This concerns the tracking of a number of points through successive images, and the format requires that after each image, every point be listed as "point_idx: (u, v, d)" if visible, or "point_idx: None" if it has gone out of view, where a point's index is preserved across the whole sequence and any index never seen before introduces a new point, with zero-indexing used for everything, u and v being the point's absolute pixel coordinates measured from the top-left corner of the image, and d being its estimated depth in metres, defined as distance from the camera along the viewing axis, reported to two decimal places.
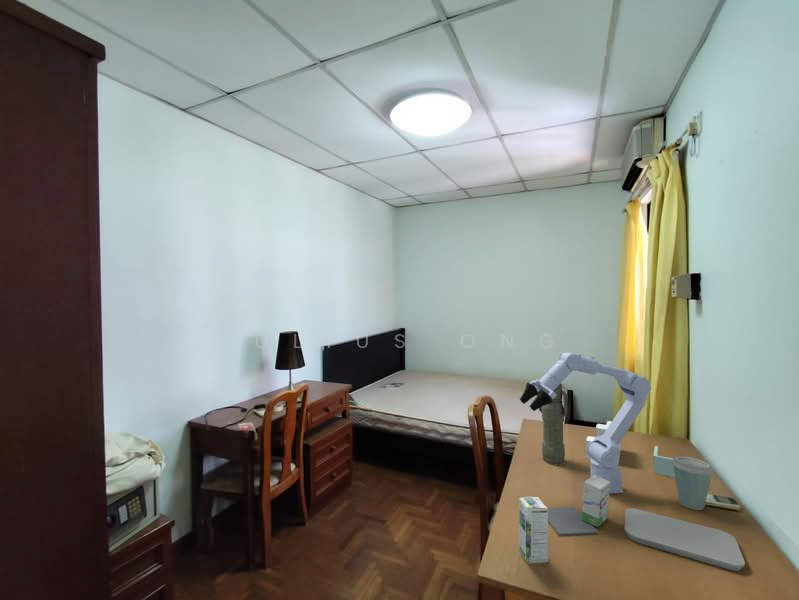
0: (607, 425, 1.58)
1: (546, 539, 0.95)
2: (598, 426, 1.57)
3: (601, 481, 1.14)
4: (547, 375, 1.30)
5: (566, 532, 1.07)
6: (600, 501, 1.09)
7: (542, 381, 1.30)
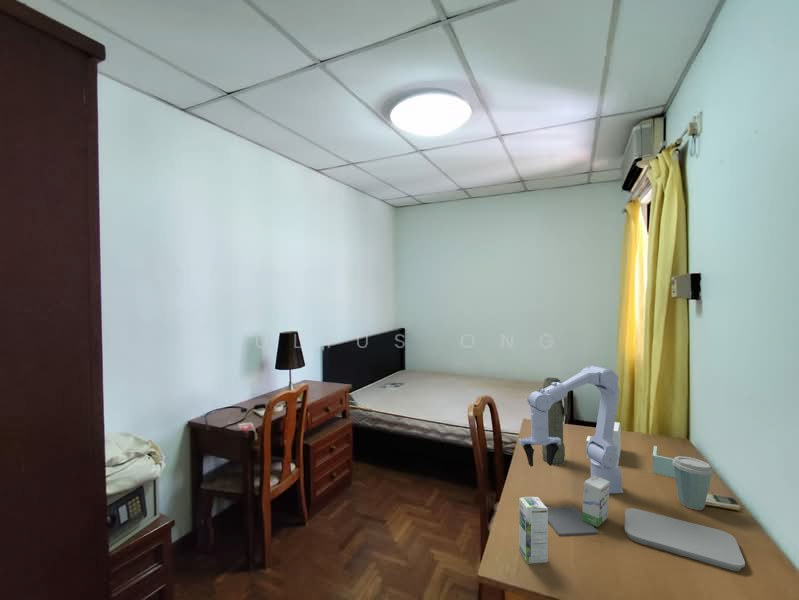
0: None
1: (546, 539, 0.95)
2: None
3: (601, 481, 1.14)
4: (545, 431, 1.26)
5: (566, 532, 1.07)
6: (600, 501, 1.09)
7: (545, 439, 1.26)
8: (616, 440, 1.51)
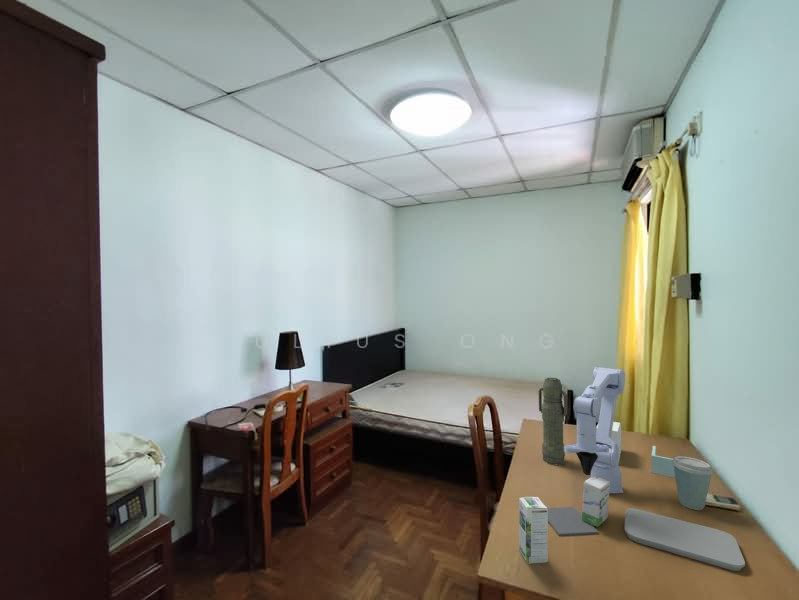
0: None
1: (546, 539, 0.95)
2: None
3: (601, 481, 1.14)
4: (593, 438, 1.19)
5: (566, 532, 1.07)
6: (600, 501, 1.09)
7: (593, 447, 1.20)
8: (616, 440, 1.51)
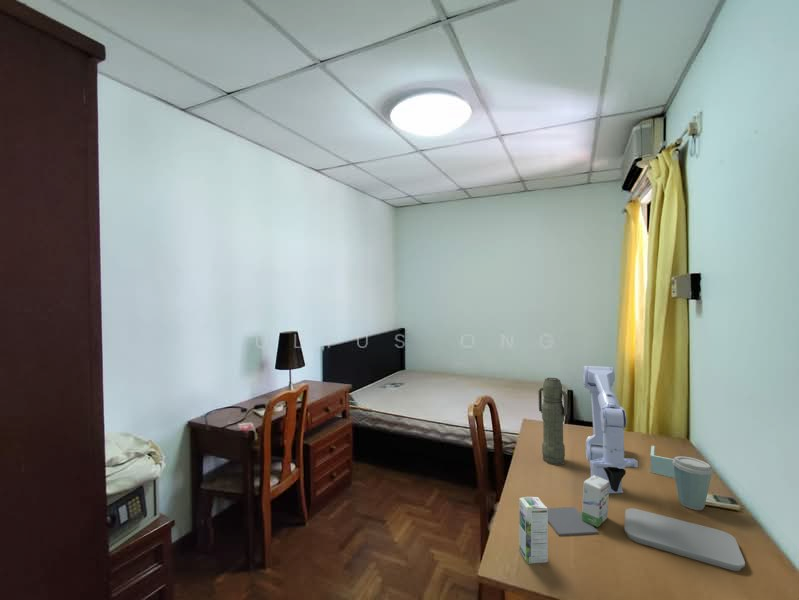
0: None
1: (546, 539, 0.95)
2: None
3: (600, 481, 1.14)
4: (621, 452, 1.11)
5: (566, 532, 1.07)
6: (600, 501, 1.09)
7: (622, 462, 1.12)
8: None
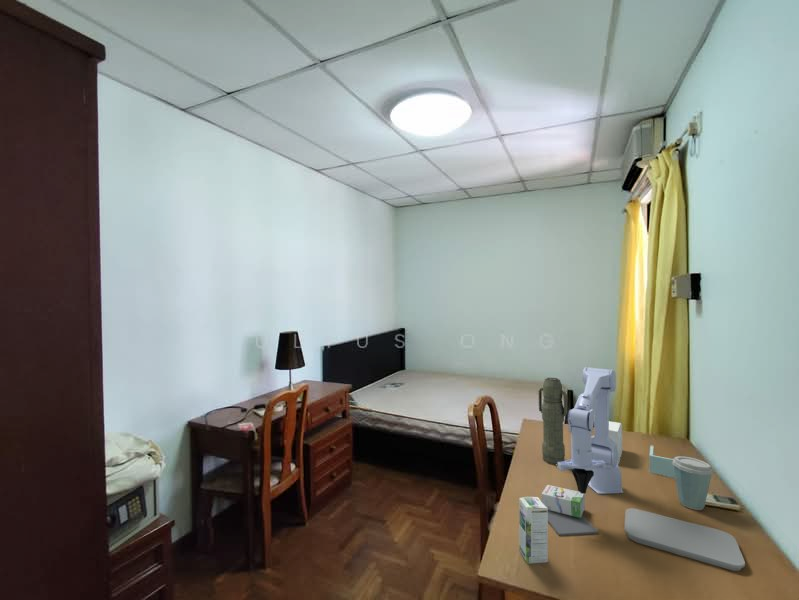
0: None
1: (546, 539, 0.95)
2: None
3: None
4: (588, 454, 1.11)
5: (566, 532, 1.07)
6: (555, 495, 1.17)
7: (589, 463, 1.11)
8: (616, 440, 1.51)
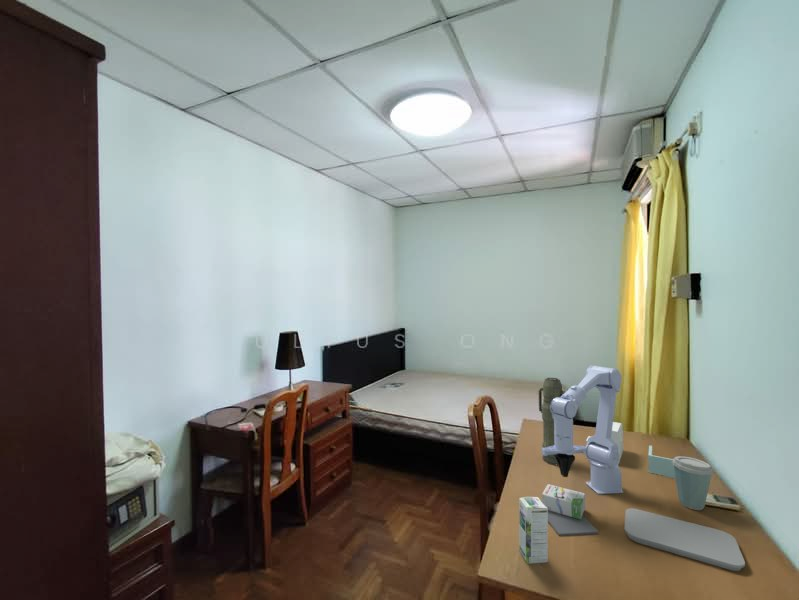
0: None
1: (546, 539, 0.95)
2: None
3: None
4: (570, 440, 1.19)
5: (566, 532, 1.07)
6: (555, 496, 1.17)
7: (571, 448, 1.19)
8: (616, 440, 1.51)
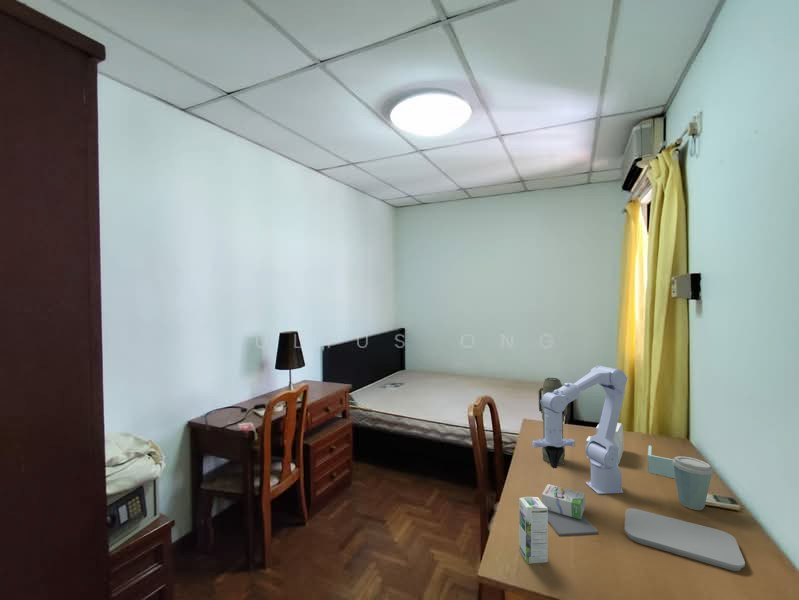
0: None
1: (546, 539, 0.95)
2: (598, 426, 1.57)
3: None
4: (559, 433, 1.25)
5: (566, 532, 1.07)
6: (555, 496, 1.17)
7: (560, 441, 1.25)
8: (616, 440, 1.51)
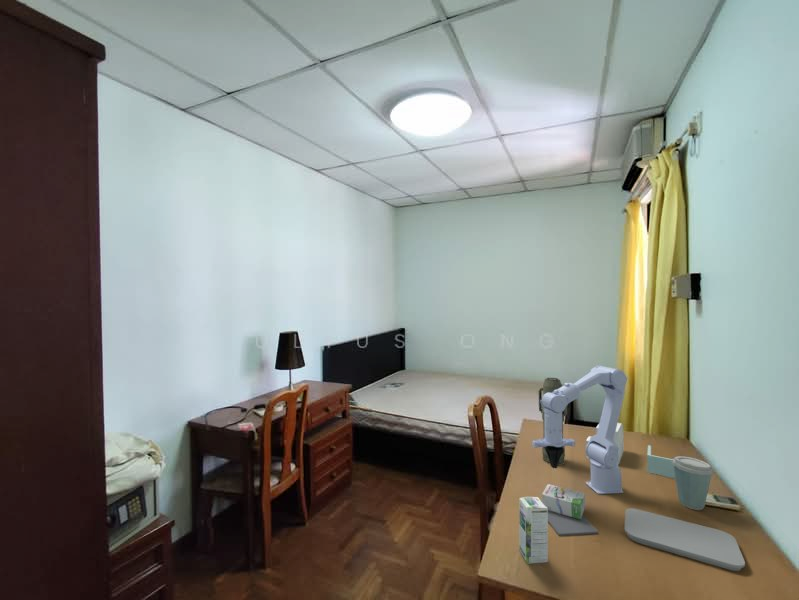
0: None
1: (546, 539, 0.95)
2: (598, 426, 1.57)
3: None
4: (559, 433, 1.25)
5: (566, 532, 1.07)
6: (555, 496, 1.17)
7: (560, 441, 1.25)
8: (616, 440, 1.51)
